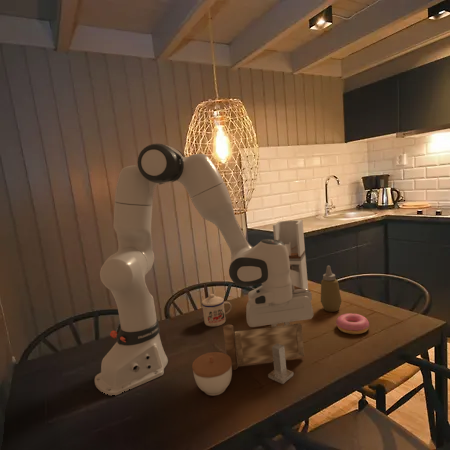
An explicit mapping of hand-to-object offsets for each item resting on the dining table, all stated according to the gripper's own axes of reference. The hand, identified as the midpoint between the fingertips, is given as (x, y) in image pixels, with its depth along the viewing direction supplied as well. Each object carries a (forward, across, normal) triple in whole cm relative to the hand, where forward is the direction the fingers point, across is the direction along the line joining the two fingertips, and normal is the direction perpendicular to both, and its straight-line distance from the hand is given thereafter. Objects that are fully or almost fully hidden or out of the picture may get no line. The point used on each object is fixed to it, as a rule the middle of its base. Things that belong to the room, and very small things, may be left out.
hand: (281, 335), depth 99 cm
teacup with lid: (+7, +18, -33) cm, 38 cm away
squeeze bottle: (+7, -27, -29) cm, 41 cm away
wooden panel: (+6, +4, +2) cm, 8 cm away
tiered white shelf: (+7, -17, -45) cm, 49 cm away
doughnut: (+8, -28, -12) cm, 31 cm away
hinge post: (+7, +16, +2) cm, 18 cm away
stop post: (+7, +3, +9) cm, 12 cm away
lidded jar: (+7, +22, +10) cm, 25 cm away
